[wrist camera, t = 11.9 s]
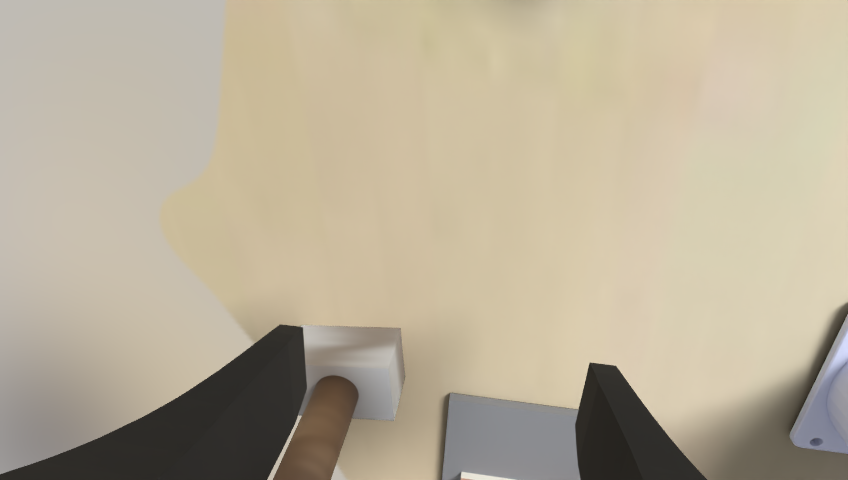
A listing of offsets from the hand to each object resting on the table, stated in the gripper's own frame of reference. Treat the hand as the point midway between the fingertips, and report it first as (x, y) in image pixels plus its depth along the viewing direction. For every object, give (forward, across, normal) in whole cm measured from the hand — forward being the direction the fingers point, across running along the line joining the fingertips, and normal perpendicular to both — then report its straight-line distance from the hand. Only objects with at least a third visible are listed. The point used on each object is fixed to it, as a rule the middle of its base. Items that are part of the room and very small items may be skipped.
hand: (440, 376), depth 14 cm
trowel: (+10, +5, +8) cm, 14 cm away
